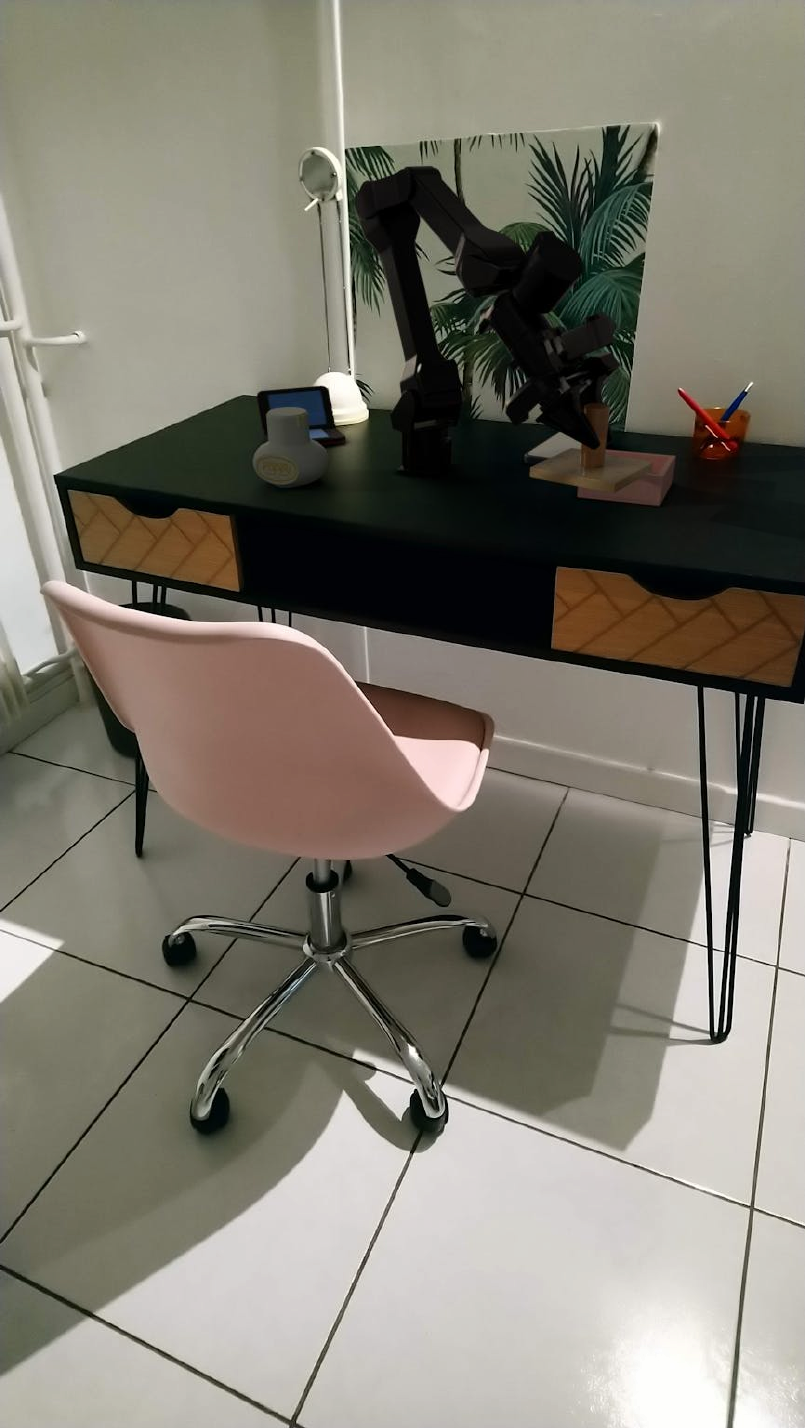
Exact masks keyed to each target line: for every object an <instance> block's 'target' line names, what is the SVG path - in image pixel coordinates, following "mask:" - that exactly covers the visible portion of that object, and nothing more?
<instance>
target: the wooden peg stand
mask: <svg viewBox="0 0 805 1428" xmlns="http://www.w3.org/2000/svg"><path fill="white" fill-rule="evenodd" d="M603 403H604V402H603ZM603 403H590V404H586V405H585V406H584V413H585V414H586V416H587V418H588V420H589V422H590V423H591V425H592V427H593V429H594V431H595V432H596V434H597V436H598V439H599V441H600V443H601V445H600V446H599V447H598V448H597V449H595V450H592V449H591V448H589V447H587V446H585V445H583V444H581V449H575V448H570V449H568V450H566V451H564V452H562V453H559V454H557V455H555V456H553V457H551V458H549V459H547V460H545V461H543V462H541V463H539V464H536V465H532V466H530V467H529V478H533V479H538V480H543V481H549V482H554V483H559V484H564V485H569V486H574V487H578V486H579V487H584V488H589V489H594V490H599V491H604V492H609V493H616V492H617V491H619V490H621V489H622V488H624V487H626V486H628V485H629V484H631V483H633V482H634V481H636V480H638V479H639V478H641V477H643V476H645V475H646V474H648V473H650V472H651V471H652V466H653V462H651V461H645V460H639V459H633V458H627V457H621V456H616V455H610V454H605V453H606V450H607V447H606V443H607V433H608V423H609V424H610V411H611V405H610V404H607V403H604V404H603Z"/></svg>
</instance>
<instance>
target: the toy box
mask: <svg viewBox="0 0 805 1428" xmlns="http://www.w3.org/2000/svg"><path fill="white" fill-rule="evenodd" d="M605 454H610V455H616V456H621V457H627V458H633V459H639V460H645V461H651V462H653V466H652V471H651V472H650V473H648V474H646V475H645V476H643V477H641V478H639V479H638V480H636V481H634V482H633V483H631V484H629V485H628V486H626V487H624V488H622V489H621V490H619V491H617V492H616V493H609V492H604V491H599V490H594V489H589V488H584V487H579V486H577V498H581V499H589V500H590V499H592V500H601V501H609V502H617V503H629V504H636V505H645V506H654V507H660V506H661V505H662V502H663V501H664V499H665V497H666V495H667V494H668V492H669V490H670V488H671V486H672V484H673V481H674V479H673V478H674V471H675V464H676V457H677V456H676V455H672V454H671V455H669V454H661V453H660V454H658V453H648V452H637V451H627V450H625V451H624V450H614V449H606V453H605Z"/></svg>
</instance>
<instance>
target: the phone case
mask: <svg viewBox="0 0 805 1428" xmlns="http://www.w3.org/2000/svg"><path fill="white" fill-rule="evenodd" d="M611 442H612V440H611V441H610V442H609V443H607V444H606V448H607V447H608V446H610V445H611ZM570 448H575V449H581V443H580V442H578V441H576V440H574V439H572V438H571V437H569V436H567V435H565V434H563V433H561V432H559V431H557V433H555V434H553V435H552V436H550V437H549V438H547V439H546V440H544V441H542V442H541V443H540V444H538V445H537V446H535V447H533V448H531V449H530V450H529V451H527V452H526V453H525V454H524V463H525V464H527V465H532V466H534V465H536V464H539V463H541V462H543V461H545V460H547V459H549V458H551V457H553V456H555V455H557V454H559V453H562V452H564V451H566V450H568V449H570Z"/></svg>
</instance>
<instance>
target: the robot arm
mask: <svg viewBox="0 0 805 1428" xmlns="http://www.w3.org/2000/svg"><path fill="white" fill-rule="evenodd" d="M353 206H354V207H353V208H354V212H355V216H356V217H357V220H358V223H359V225H360V229H361V231H362V234H363V237H364V239H365V241H367V242H368V243H369V244H370V246H371V247H372V248H373V249H374V250H375V252H377V254H378V255H379V256H380V260H381V264H382V267H383V273H384V277H385V281H386V285H387V290H388V293H389V297H390V302H391V306H392V310H393V314H394V318H395V323H396V327H397V331H398V335H399V341H400V345H401V348H402V352H403V356H404V366H403V369H402V372H401V376H400V380H399V389H400V397H399V399H398V400H397V402H396V404H395V405H394V407H393V409H392V410H391V412H390V414H389V417H390V422H391V427H392V430H395V431H397V432H400V433H401V466H400V467H398V468H397V473H401V474H409V475H419V476H428V477H439V476H440V475H442V474H443V473H444V472H446V471H447V470H448V469H449V468H451V467H452V466H453V461H452V438H451V437H450V436H449V428H450V427H457V426H458V424H459V419H460V414H461V412H462V411H461V410H462V405H463V402H464V392H463V389H464V385H463V383H462V381H461V377H460V372H459V365H458V362H457V361H456V359H455V358H449V359H447V358H446V357H445V355H443V353H441V351H440V348H439V345H438V339H437V335H436V331H435V326H434V322H433V319H432V314H431V309H430V304H429V301H428V297H427V291H426V288H425V284H424V279H423V274H422V270H421V266H420V262H419V257H418V253H417V248H416V240H417V236H418V233H419V230H420V228H421V227H420V226H421V221H423V222H424V223H425V224H426V225H427V226H428V228H429V229H430V230H431V231H432V232H433V233H434V235H435V236H436V237H437V238H438V239H439V241H440V242H441V243H442V244H443V245H444V247H445V248H446V249H447V250H448V252H449V253H450V254H451V255H452V257H453V258H454V273H455V275H456V277H457V278H458V280H459V282H460V284H461V286H462V287H463V289H464V290H465V292H466V293H467V295H469V297H471V298H472V299H479V298H481V299H482V298H488V297H496V298H495V300H494V301H493V302H492V304H491V305H488V306H486V307H484V308H482V309H480V310H479V322H478V326H477V327H478V328H477V329H478V330H477V331H478V334H479V335H484V334H486V333H489V332H491V331H492V330H493V331H494V333H495V334H496V336H497V337H498V338H499V340H500V341H501V342H502V344H503V345H504V347H505V348H506V350H507V352H508V353H509V355H510V356H511V357H512V361H510V363H509V364H508V366H509V367H510V368H511V369H512V371H513V372H516V371H519V370H521V372H522V373H523V374H524V376H525V377H526V378H527V380H526V381H525V382H524V383H523V384H521V386H520V387H518V389H517V390H515V392H514V393H513V394H512V395H511V396H510V397H509V398H508V399H507V400H506V401H505V415H506V416H507V418H508V419H509V420H510V422H511V424H512V425H513V426H514V427H516V426H519V425H520V424H523V423H525V422H527V421H528V420H529V419H530V412H532V411H533V409H535V407H536V406H538V405H539V406H540V407H539V408H538V409H539V410H540V412H541V413H540V415H538V416H537V417H536V418H535V419H534V422H535V423H537V424H543V425H544V426H547V427H549V428H551V429H552V430H555V431H557V432H561V433H563V434H565V435H567V436H569V437H571V438H572V439H574V440H576V441H578V442H580V443H581V444H583V445H585V446H587V447H589V448H591V449H592V450H595V449H597V448H598V447H599V446H600V445H601V443H600V441H599V439H598V436H597V434H596V432H595V431H594V429H593V427H592V425H591V423H590V422H589V420H588V418H587V416H586V414H585V413H584V406H585V405H586V404H590V403H603V404H605V403H604V399H603V389H604V385H605V382H606V381H607V380H608V379H609V377H610V376H611V375H613V374H614V372H616V371H617V370H618V369H619V368H620V366H621V363H619V361H618V360H617V358H616V356H615V355H614V354H613V353H612V352H607V351H601V352H598V353H596V354H593V355H592V353H593V352H596V351H599V350H602V349H604V348H605V347H606V348H609V347H611V346H614V345H616V339H615V336H614V335H615V331H616V330H617V328H618V325H617V322H614V321H613V320H612V316H611V315H609V316H608V314H607V313H606V312H604V311H603V310H600V311H597V312H595V313H594V314H592V315H588V316H587V317H585V320H584V323H583V324H581V325H579V326H577V327H574V328H573V329H570V330H567V329H566V327H565V326H561V325H559V326H554V327H553V325H552V323H551V322H550V320H549V319H548V318H547V316H546V314H549V313H552V312H553V311H554V310H555V309H556V308H557V306H558V305H559V304H560V302H561V301H562V300H563V299H564V298H565V296H566V295H567V294H568V292H569V291H570V290H571V289H572V287H574V285H575V284H576V282H578V280H579V279H580V278H581V276H582V274H583V273H584V262H583V258H582V256H581V255H580V253H579V252H578V251H576V250H575V249H574V247H572V246H571V245H570V244H569V243H567V242H566V241H564V240H563V239H560V238H557V236H556V233H555V231H554V230H539V231H538V232H537V233H536V235H535V237H534V238H533V240H532V242H531V244H530V246H529V248H528V249H527V251H526V252H525V251H524V249H523V246H521V245H520V244H519V243H518V242H516V241H515V240H513V239H512V238H511V237H509V236H508V235H506V234H505V233H502V232H500V231H497V230H494V229H492V228H488V227H487V226H486V225H484V224H483V223H482V222H481V221H480V220H479V219H478V217H477V216H476V215H475V214H474V213H473V212H472V211H471V209H469V208H468V206H467V205H466V204H465V203H464V202H463V201H462V199H460V198H459V196H458V195H457V194H456V193H455V192H454V190H452V189H451V187H450V186H449V185H448V184H447V183H446V182H445V180H444V179H443V177H442V173H441V172H440V170H439V168H437V167H434V166H433V165H415V166H414V165H412V166H409V165H408V166H405V167H403V168H402V169H400V170H397V171H396V172H394V173H393V174H390V175H387V176H385V177H381V178H379V179H372V180H370V179H369V180H364V181H363V182H362V184H361V185H360V187H359V190H357V192H356V193H355V195H354V202H353ZM421 219H422V220H421ZM587 354H591V355H590V356H589V357H588V356H587ZM613 440H614V433H613V430H612V427H611V425H610V422H609V423H608V433H607V443H609V442H610V441H611V442H612V441H613ZM611 442H610V443H611ZM607 443H606V444H607Z"/></svg>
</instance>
